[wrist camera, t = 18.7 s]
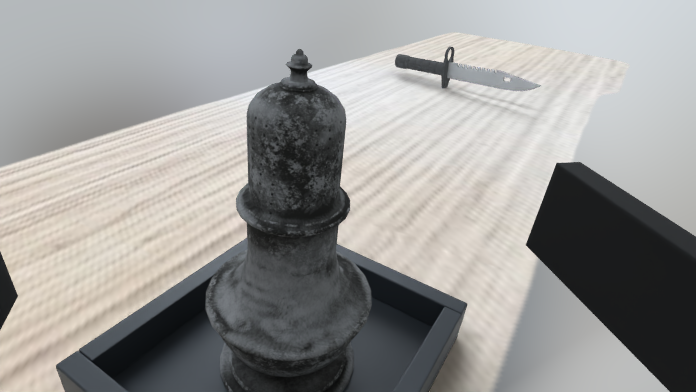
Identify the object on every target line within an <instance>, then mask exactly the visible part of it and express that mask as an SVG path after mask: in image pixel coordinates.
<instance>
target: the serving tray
mask: <svg viewBox="0 0 696 392" xmlns="http://www.w3.org/2000/svg"><path fill="white" fill-rule="evenodd" d="M247 249H248V242H247V238H246V239H244V240H243V241H241V242H240V243H238V244H237V245H235V246H234V247H232V248H231V249H229V250H228V251H226V252H225V253H223V254H222V255H220V256H219V257H217V258H216V259H214V260H213V261H211V262H210V263H208V264H207V265H205V266H204V267H202V268H201V269H199V270H198V271H196V272H195V273H193V274H192V275H190V276H189V277H187V278H186V279H184V280H183V281H181V282H180V283H178V284H177V285H175V286H174V287H172V288H171V289H169V290H168V291H166V292H165V293H163V294H162V295H160V296H159V297H157V298H156V299H154V300H153V301H151V302H150V303H148V304H147V305H145V306H144V307H142V308H141V309H139V310H138V311H136V312H134V313H133V314H131V315H130V316H128V317H127V318H125V319H124V320H122V321H121V322H119V323H118V324H116V325H115V326H113V327H112V328H110V329H109V330H107V331H106V332H104V333H103V334H101V335H100V336H98V337H97V338H95V339H94V340H92V341H91V342H89V343H88V344H86V345H85V346H83V347H82V348H80V349H79V351H77V352H75V353H73V354H72V355H70V356H69V357H67V358H66V359H64V360H63V361H61V362H60V363H58V364H57V365H56V369H57V371H58V374H59V377H60V379H61V382H62V385H63V387H64V390H65V392H228V391H227V390H226V388H225V385H224V383H223V380H222V377H221V374H220V356H221V353H222V350H223V346H224V343H225V342H224V341H223V340H222V337H221V336H220V335H219V334H218V333H217V332H216V330H215V329H214V328H213V327H212V325H211V323H210V320H209V317H208V315H207V312H206V291H207V288H208V286H209V284H210V281H211V279H212V277H213V276H214V274H215V273H216V272H217V271H218V270H219V268H220V267H221V266H222V265H223V264H224V263H226V262H227V261H228V260H230V259H231V258H233V257H234V256H235V255H237V254H238V253H240V252H243V251H245V250H247ZM336 251H337V252H339V253H341V254H342V255H344V256H345V257H347V258H348V259H349V260H351V261H352V262H353V263H355V264H356V266H357V267H358V268H359V269H360V270H361V272H362V273H363V274H364V275H365V277H366V279H367V281H368V284H369V286H370V289H371V301H372V306H371V309H370V312H369V316H368V319H367V322H366V323H365V325H364V326H363V327H362V329H361V330H360V331H359V332H358V334H357V335H356V336H355V337H354V338H353V339H352V341H351V345H352V348H353V352H354V367H353V371H352V374H351V377H350V380H349V383H348V385H347V386H346V388H345V389H344V390H343V392H429V390H430V388H431V386H432V384H433V382H434V380H435V378H436V376H437V374H438V372H439V370H440V369H441V367H442V365H443V363H444V361H445V359H446V357H447V355H448V353H449V351H450V349H451V347H452V345H453V344H454V342H455V340H456V338H457V336H458V332H459V328H460V326H461V323H462V320H463V317H464V314H465V310H466V307H467V303H465V302H463V301H461V300H459V299H456V298H454V297H452V296H450V295H448V294H445V293H443V292H441V291H439V290H437V289H434V288H432V287H430V286H428V285H426V284H423V283H421V282H419V281H417V280H415V279H413V278H410V277H408V276H406V275H404V274H402V273H399V272H397V271H395V270H393V269H391V268H388V267H386V266H384V265H382V264H380V263H377V262H375V261H373V260H371V259H369V258H366V257H364V256H362V255H360V254H358V253H355V252H353V251H351V250H349V249H347V248H345V247H342V246H340V245H338V244H336Z"/></svg>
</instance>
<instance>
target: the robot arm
mask: <svg viewBox="0 0 696 392" xmlns="http://www.w3.org/2000/svg"><path fill="white" fill-rule="evenodd" d="M526 246H527V247H528V248H529V249H530V250H531V251H532V252H533V253H534V254H535V255H536V256H537V257H538V258H539V259H540V260H541V261H542V262H543V263H544V264H545V265H546V266H547V267H548V268H549V269H550V270H551V271H552V272H553V273H554V274H555V275H556V276H557V277H558V278H559V279H560V280H561V281H562V282H563V283H564V284H565V285H566V286H567V287H568V288H569V289H570V290H571V291H572V292H573V293H574V294H575V295H576V297H577V298H579V300H580V301H581V302H582V303H583V304H584V305H585V306H586V307H587V308H588V309H589V310H590V311H591V312H592V313H593V314H594V315H595V316H596V317H597V318H598V319H599V320H600V321H601V322H602V323H603V324H604V325H605V326H606V327H607V328H608V329H609V330H610V331H611V332H612V333H613V334H614V335H615V336H616V337H617V338H618V339H619V340H620V341H621V342H622V343H623V344H624V345H625V346H626V347H627V348H628V349H629V350H630V351H631V352H632V354H634V355H635V357H636V358H637V359H638V360H639V361H640V362H641V363H642V364H643V365H644V366H645V367H647V369H648V370H649V371H650V372H651V373H652V374H653V375H654V376H655V377H656V378H657V379H658V380H659V381H660V382H661V383H662V384H663V385H664V386H665V387H666V388H667V389H668V390H669V391H670V392H696V237H695V236H694V235H692V234H691V233H689V232H688V231H686V230H684V229H683V228H681V227H680V226H678V225H677V224H675V223H674V222H672V221H670V220H669V219H667V218H666V217H664V216H663V215H661V214H660V213H658V212H657V211H655V210H653V209H652V208H650V207H649V206H647V205H646V204H644V203H643V202H641V201H639V200H638V199H636V198H635V197H633V196H632V195H630V194H629V193H627V192H626V191H624V190H622V189H621V188H619V187H617V186H616V185H615V184H613V183H612V182H610V181H608V180H607V179H605V178H604V177H602V176H601V175H599V174H597V173H596V172H594V171H593V170H591V169H590V168H588V167H587V166H585V165H584V164H582V163H580V162H572V163H557V164H556V166H555V169H554V172H553V174H552V177H551V180H550V182H549V185H548V188H547V190H546V193H545V196H544V198H543V201H542V204H541V206H540V209H539V212H538V214H537V217H536V219H535V222H534V225H533V227H532V230H531V233H530V235H529V238H528V241H527V243H526ZM17 297H18V295H17V293H16V290H15V288H14V285H13V282H12V280H11V277H10V275H9V272H8V270H7V267H6V265H5V262H4V260H3V257H2V255H1V252H0V329H1V328H2V326H3V324H4V322H5V320H6V318H7V316H8V314H9V312H10V310H11V308H12V306H13V304H14V303H15V301H16V299H17Z"/></svg>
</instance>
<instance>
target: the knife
mask: <svg viewBox="0 0 696 392" xmlns="http://www.w3.org/2000/svg"><path fill="white" fill-rule="evenodd" d="M450 49H451V50H452V53H451V57H450V59H449V61H448V52H449V50H450ZM453 56H454V48H453V47H448V49H447V50H446V53H445V59H444V63H442V62H436V61H431V60H425V59H419V58H414V57H410V56H407V55H401V54H399V55H397V57H396V59H395V65H396V67H399V68H404V69H412V70H417V71H423V72H427V73H432V74H438V75H442V88H446V87H447V86H448V83H449V80H450V78H451V79H456V80H459V81H465V82H470V83H475V84H480V85H485V86H489V87H494V88H499V89H505V90H512V91H526V90H531V89H535V88H537V87H540V86H541V85H538V84H535V83H533V82H530V81H527V80H524V79H522V78H519V77H516V76H513V75H511V74H508V73H506V72H503V71H500V70H496V73H495V70H493V69H492V72H490V69H487V72H486V70H485V68H482V70H481V68H480V67H477V68H478V70H477V69H476V67H475V66H473V69H472V68H471V66H469V65H468V68H467V65H464V68H463V66H462V64H459V66H460V67H459V66H458V63H453ZM504 77H508V78H511V81H510V82H507V81H504Z"/></svg>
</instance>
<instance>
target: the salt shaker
mask: <svg viewBox="0 0 696 392" xmlns="http://www.w3.org/2000/svg"><path fill="white" fill-rule="evenodd" d="M286 65H287V66H288V67H289V68H290V69H291V75H290V77H287V78H284V79H282V81H281V82H280V83H275V84H272V85H270V86H268V87H267V88H265V89H263V90H261V91H260V92H258V93H257V94H256V96H255V97H254V98H253V100H252V101H251V102H250V104H249V107H248V111H247V147H248V184H246V185H245V186H244V187H243V188H242V189H241V190H240V191H239V194H238V196H237V198H236V207H237V211H238V213H239V214H240V216H241V218H242V219H244V220H245V221H246V222H247V242H248V249H247V250H245V251H243V252H240V253H238V254H237V255H235V256H234V257H233V258H231V259H230V260H228V261H227V262H226V263H224V264H223V265H222V266H221V267H220V268H219V270H218V271H217V272H216V273H215V274H214V276H213V277H212V279H211V281H210V284H209V286H208V288H207V291H206V312H207V315H208V317H209V320H210V323H211V325H212V327H213V328H214V329H215V330H216V332H217V333H218V334H219V335H220V336H221V337H222V340H223V341H224V342H225V343H224V346H223V350H222V353H221V356H220V374H221V377H222V380H223V383H224V385H225V388H226V390H227V391H228V392H343V390H344V389H345V388H346V386H347V385H348V383H349V380H350V377H351V374H352V371H353V367H354V352H353V348H352V345H351V341H352V339H353V338H354V337H355V336H356V335H357V334H358V332H359V331H360V330H361V329H362V327H363V326H364V325H365V323H366V322H367V319H368V316H369V312H370V309H371V306H372V301H371V289H370V286H369V284H368V281H367V279H366V277H365V275H364V274H363V273H362V272H361V270H360V269H359V268H358V267H357V266H356V264H355V263H353V262H352V261H351V260H349V259H348V258H347V257H345V256H344V255H342V254H341V253H339V252H337V251H336V244H337V234H338V225H339V224H340V223H341V222H342V221H343V220H345V219H346V217H347V215H348V213H349V211H350V199H349V197H348V195H347V193H346V192H345V191H344V190H343V189H342V188H341V187H340V179H341V169H342V159H343V149H344V139H345V128H346V114H345V109H344V107H343V106H342V104H341V103H340V101H339V99H338V98H337V97H336V96H335V95H334V94H332V93H331V92H330V91H328V90H327V89H326V88H324V87H322V86H319V85H317V84H316V83H315V81H313V80H311V79H308V77H307V71H308V70H309V69H310V68H311V67H312V65H311V64H310V63H308V58H307V56H306V55H304V54H303V51H302V50H301V49H298V50H297V51H296V54H294V55H293V56H292V57H291V62H287V64H286Z"/></svg>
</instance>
